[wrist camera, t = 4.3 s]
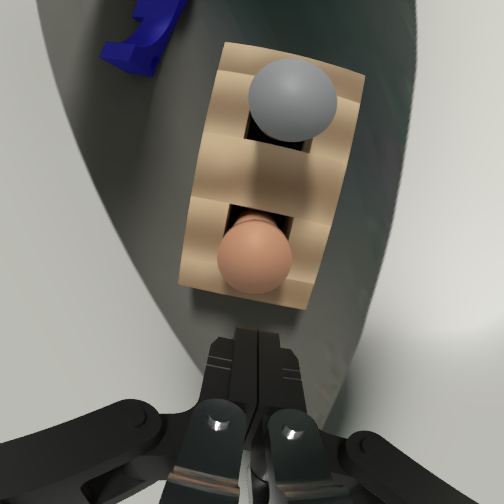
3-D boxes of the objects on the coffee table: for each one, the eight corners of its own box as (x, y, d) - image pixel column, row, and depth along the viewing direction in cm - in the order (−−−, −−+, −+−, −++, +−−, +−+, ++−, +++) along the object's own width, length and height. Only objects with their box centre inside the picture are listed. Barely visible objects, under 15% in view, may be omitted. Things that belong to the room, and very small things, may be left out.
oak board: (230, 60, 23) (225, 42, 18) (347, 88, 23) (365, 75, 19) (190, 263, 29) (178, 284, 24) (298, 285, 30) (305, 309, 25)
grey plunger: (258, 82, 21) (258, 50, 13) (317, 96, 21) (344, 71, 14) (245, 138, 22) (239, 130, 15) (305, 152, 22) (327, 151, 15)
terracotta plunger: (234, 198, 26) (224, 216, 18) (288, 210, 26) (300, 232, 18) (224, 250, 27) (211, 285, 20) (275, 261, 27) (281, 300, 20)
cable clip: (160, -21, 20) (142, -48, 14) (198, -18, 20) (186, -48, 14) (115, 71, 23) (85, 56, 18) (153, 77, 24) (128, 60, 18)
